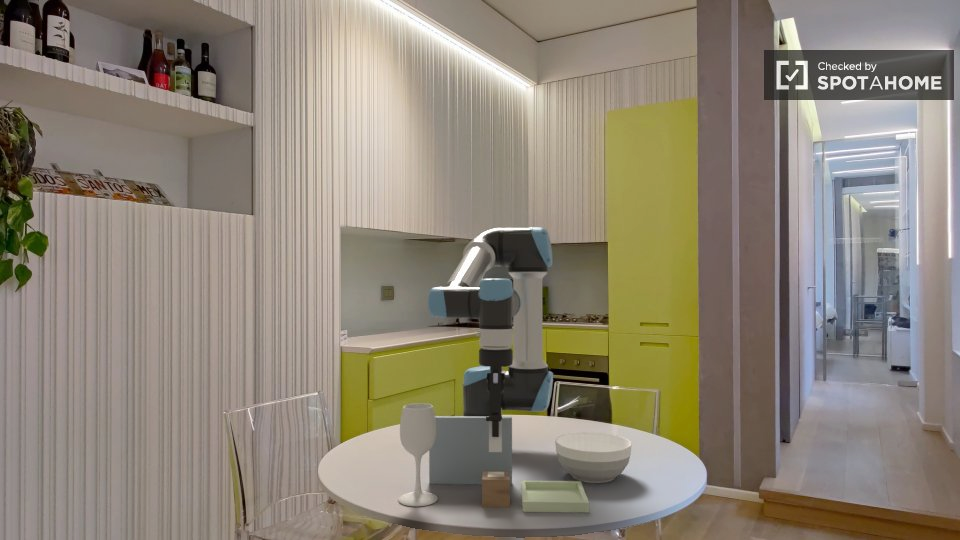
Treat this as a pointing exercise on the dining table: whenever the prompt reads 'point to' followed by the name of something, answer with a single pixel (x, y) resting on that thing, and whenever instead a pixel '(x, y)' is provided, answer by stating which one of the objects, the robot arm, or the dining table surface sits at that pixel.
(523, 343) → the robot arm
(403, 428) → the wineglass
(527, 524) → the dining table surface
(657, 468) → the dining table surface
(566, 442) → the bowl
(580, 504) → the tray
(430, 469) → the screen
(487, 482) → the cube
